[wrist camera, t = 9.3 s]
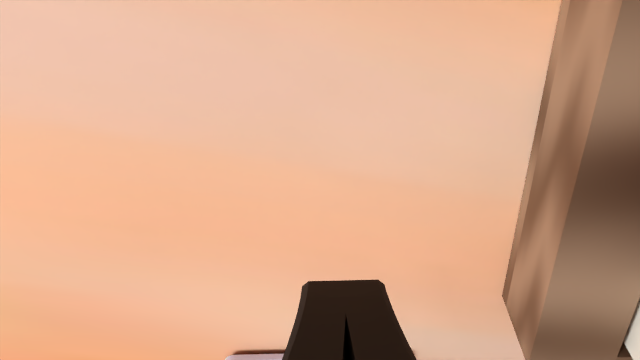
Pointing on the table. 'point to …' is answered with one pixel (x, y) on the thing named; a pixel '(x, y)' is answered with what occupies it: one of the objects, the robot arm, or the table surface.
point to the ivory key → (634, 334)
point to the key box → (582, 192)
